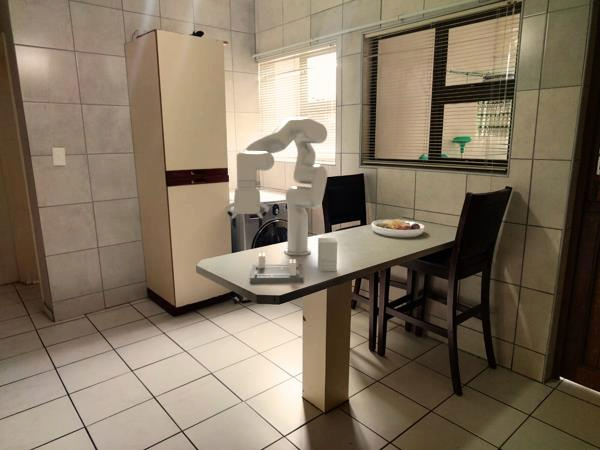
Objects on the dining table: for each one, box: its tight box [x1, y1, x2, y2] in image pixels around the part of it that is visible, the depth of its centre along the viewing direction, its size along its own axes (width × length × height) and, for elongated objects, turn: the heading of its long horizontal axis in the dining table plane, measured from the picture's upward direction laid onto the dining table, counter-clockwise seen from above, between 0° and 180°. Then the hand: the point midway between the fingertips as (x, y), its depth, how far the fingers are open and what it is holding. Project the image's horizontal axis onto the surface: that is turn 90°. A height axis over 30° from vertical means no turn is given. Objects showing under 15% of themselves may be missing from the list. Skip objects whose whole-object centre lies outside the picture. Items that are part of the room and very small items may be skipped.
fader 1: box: [258, 252, 266, 268], centre depth 162 cm, size 5×2×5 cm, turn 3°
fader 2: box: [288, 258, 297, 276], centre depth 154 cm, size 5×2×5 cm, turn 3°
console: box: [249, 262, 304, 284], centre depth 159 cm, size 16×20×3 cm
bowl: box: [371, 218, 425, 238], centre depth 235 cm, size 30×30×8 cm
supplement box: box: [317, 237, 338, 272], centre depth 167 cm, size 7×7×13 cm
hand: (247, 227), depth 158 cm, fingers open, 9 cm apart
